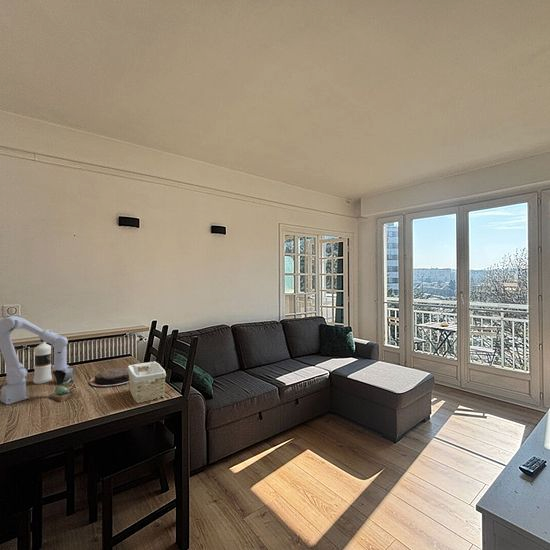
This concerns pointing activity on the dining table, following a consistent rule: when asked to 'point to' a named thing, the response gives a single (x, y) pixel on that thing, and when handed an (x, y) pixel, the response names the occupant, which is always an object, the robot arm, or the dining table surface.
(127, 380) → the chocolate cake
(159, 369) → the storage basket
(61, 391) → the bottle
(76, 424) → the dining table surface
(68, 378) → the ceramic mug
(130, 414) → the dining table surface
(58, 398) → the cradle
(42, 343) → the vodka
